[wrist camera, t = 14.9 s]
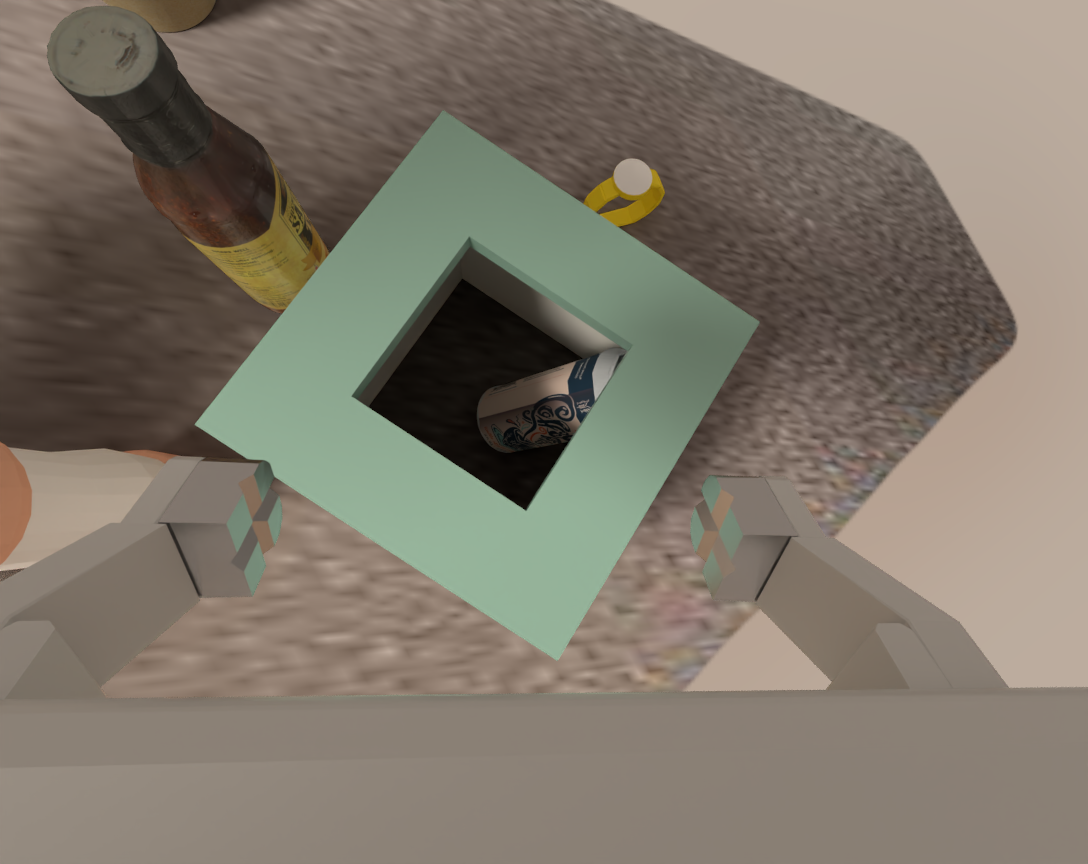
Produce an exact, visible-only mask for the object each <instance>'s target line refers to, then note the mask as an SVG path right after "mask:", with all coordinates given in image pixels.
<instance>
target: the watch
mask: <svg viewBox="0 0 1088 864" xmlns="http://www.w3.org/2000/svg"><path fill="white" fill-rule="evenodd" d="M650 188H651V189H650ZM664 194H665V191H664V188H663V186H662V183H661V180H660V178H659V176H658V174H657V172H656V171H655V170H653V169H650V168H649V167H648V166H647V165H646V164H645V163H644V162H643V161H641V160H639V159H633V158H631V159H626V160H623V161H621V162H620V163H619V164H618V165H617V166H616V168H615V170H614V173H613V176H612V177H611V178H609V179H607V180H605V181H604V182H602V183H601V184H599V185H598V186H597V187H596V188H595V189H594V190H593V191H591V192H590V193H589V194H588V196H587V197H586V199H585V201H584V203H583V204H584V205H586V206H587V207H589V208H590V209H592V210H593V211H595V212H597V211H598V210H599V209H601V208H602V207H603V206H604V205H605V204H606V203H607V202H609V201H611V200H613V199H614V198H616V197H618V196H620V197H622V198H624V199H626V200H637V201H635V202H634V203H632V204H631V205H629V206H627V207H625V208H621V209H617V210H613V211H610V212H606V213H602V214H599V215H601V216H602V217H604V218H605V219H607V220H608V221H610V222H611V223H613V224H614V225H616V226H617V227H620V226H624V225H628V224H631V223H635V222H637V221H638V220H640V219H642V218H643V217H645V216H647V215H648V214H649V213H650V212H652V211H653V210H654V209H655V208H656V207H657V206H658V205H659V203H660V202H661V200H662V198H663V196H664Z"/></svg>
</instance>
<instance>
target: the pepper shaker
mask: <svg viewBox="0 0 1088 864" xmlns="http://www.w3.org/2000/svg"><path fill="white" fill-rule="evenodd" d="M175 456H179V455H174V454H168V453H162V452H156V451H151V450H133V451H125V452H120V451H115V450H110V449H105V448H103V449H88V450H73V451H58V452H44V451H36V450H27V449H18V448H10V447H7V446H6V445H5V444H3V443H2V442H0V571H4V570H13V569H21V568H27V567H29V566H31V565H33V564H35V563H37V562H39V561H40V560H42V559H44V558H46V557H48V556H50V555H52V554H53V553H55V552H57V551H59V550H61V549H63V548H64V547H66V546H68V545H70V544H72V543H74V542H76V541H77V540H79V539H81V538H83V537H85V536H87V535H89V534H90V533H92V532H94V531H96V530H98V529H100V528H102V527H103V526H105V525H107V524H109V523H121V521H122V520H123V519H124V517H125V516H126V515H127V513H128V512H129V511H130V509H131V508H132V507H133V505H134V504H135V503H136V501H137V500H138V499H139V498H140V496H141V495H142V494H143V492H144V491H145V490H146V488H147V487H148V486H149V484H150V483H151V482H152V480H153V479H154V478H155V476H156V475H157V474H158V472H159V471H160V470H161V469H162V467H163V466H164V465H165V463H166V462H167V461H168V460H169V459H171V458H173V457H175Z"/></svg>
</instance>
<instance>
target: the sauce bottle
mask: <svg viewBox="0 0 1088 864" xmlns="http://www.w3.org/2000/svg"><path fill="white" fill-rule="evenodd" d="M47 49H48V52H47V58H48V63H49V66H50V69H51V71H52V73H53V75H54V76H55V78H56V79H57V80H58V81H59V82H60V84H61V85H62V86H63V87H64V88H65V89H66V90H67V91H68V92H69V93H70V94H71V95H72V96H73V97H74V98H75V99H76V101H78V102H79V103H80V104H82V105H83V106H84V107H85V108H87V109H88V110H89V111H91V112H92V113H94V114H96V115H98V116H99V117H100V118H102V119H103V120H104V121H105V122H106V123H107V124H108V125H109V127H110V128H111V129H112V130H113V131H114V132H115V133H116V134H117V135H118V136H119V137H120V138H121V140H122V142H123V143H124V145H125V146H126V147H127V148H128V149H129V150H130V151H131V152H133V162H134V167H135V172H136V175H137V179H138V182H139V184H140V186H141V188H142V190H143V192H144V193H145V195H146V196H147V198H148V199H149V200H150V201H151V202H152V203H153V205H154V206H155V208H156V209H157V210H158V211H160V213H161V214H162V215H164V216H165V217H167V218H168V219H170V220H171V222H172V223H173V224H174V225H175V227H176V228H177V229H178V230H179V231H180V232H181V234H182V235H183V236H184V237H186V238H187V239H188V240H189V241H190V242H191V243H192V244H193V245H194V246H195V247H197V248H198V249H199V250H200V251H201V252H202V253H203V254H204V255H205V256H206V257H208V258H209V259H210V260H211V261H212V262H213V263H214V264H215V265H216V266H217V267H219V268H220V269H221V270H222V271H223V272H224V273H225V274H226V275H227V276H228V277H230V278H231V279H232V280H233V281H234V282H235V283H236V284H237V285H238V286H239V287H241V288H242V289H243V290H244V291H245V292H246V293H247V294H249V295H250V296H251V297H252V298H253V299H254V300H256V301H257V302H259V303H260V304H262V305H263V306H265V307H267V308H268V309H270V310H272V311H274V312H278V313H281V314H282V313H283V312H284V311H285V310H286V308H287V307H288V306H289V304H290V303H291V302H292V301H293V299H294V298H295V297H296V296H297V294H298V293H299V292H300V291H301V289H302V288H303V287H304V286H305V284H306V283H307V282H308V280H309V279H310V278H311V277H312V275H313V274H314V273H315V272H316V270H317V269H318V268H319V267H320V265H321V264H322V263H323V261H324V260H325V259H326V258H327V256H328V255H329V251H328V249H327V247H326V246H325V244H324V242H323V241H322V239H321V238H320V236H319V235H318V233H317V231H316V230H315V228H314V227H313V225H312V223H311V222H310V220H309V218H308V217H307V215H306V214H305V212H304V210H303V208H302V207H301V205H300V204H299V202H298V201H297V199H296V197H295V196H294V194H293V193H292V191H291V189H290V188H289V186H288V185H287V183H286V182H285V180H284V179H283V177H282V176H281V174H280V172H279V171H278V169H277V167H276V166H275V164H274V162H273V161H272V160H271V158H270V157H269V155H268V154H267V152H266V150H265V149H264V147H263V146H262V145H261V144H260V143H259V142H258V141H257V140H256V139H255V138H254V137H253V136H251V135H250V134H248V133H247V132H245V131H244V130H242V129H241V128H239V127H238V126H236V125H235V124H233V123H232V122H230V121H229V120H227V119H226V118H224V117H222V116H221V115H219V114H218V113H216V112H215V111H213V110H212V109H211V108H209V107H208V106H206V105H205V104H204V102H203V101H202V100H201V98H200V97H199V96H198V95H197V94H196V93H195V92H194V91H193V90H192V88H191V87H190V86H189V84H188V83H187V81H186V79H185V78H184V76H183V75H182V74H181V73H180V71H179V70H178V67H177V62H176V60H175V58H174V56H173V54H172V52H171V50H170V49H169V48H168V47H167V45H166V44H165V43H164V41H163V40H162V38H161V37H160V36H159V35H158V34H157V32H156V31H155V30H154V28H153V27H152V26H151V25H150V24H149V23H148V22H147V21H146V20H145V19H144V18H142V17H141V16H139V15H138V14H136V13H135V12H132V11H129V10H126V9H123V8H120V7H116V6H95V7H85V8H83V9H81V10H78V11H76V12H73V13H72V14H71V15H69V16H68V17H66V18H64V19H63V20H62V21H61V22H60V23H59V24H58V26H57V27H56V29H55V30H54V31H53V33H52V34H51V37H50V42H49V43H48V45H47Z"/></svg>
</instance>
